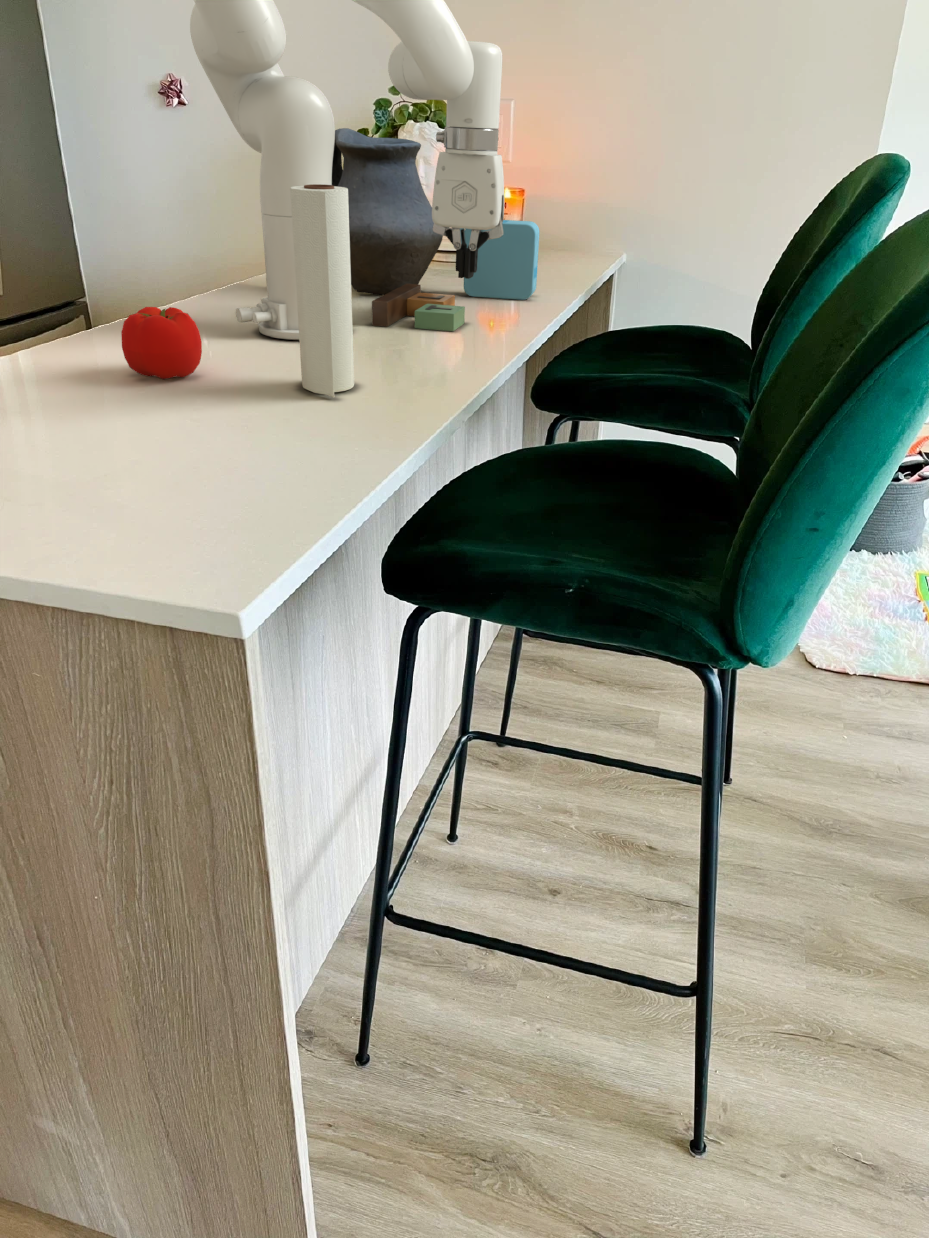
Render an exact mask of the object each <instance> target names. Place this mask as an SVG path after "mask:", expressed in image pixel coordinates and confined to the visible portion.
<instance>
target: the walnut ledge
mask: <svg viewBox="0 0 929 1238" xmlns="http://www.w3.org/2000/svg"><path fill="white" fill-rule="evenodd" d="M421 287H422V286H421V284H420V283H419V284H405V285H403V286H401V287H399V288H397V289H395V290H393V291H391V292H389V293H387V294H385V295H380V296H379V297H377V298H375V299H373V300H371V319H372V326H373V327H374V326H375V327H389V326H391V325H394V324H395V323H396V322H398V321H400V320H401V319H403V318H405V317H407V316H408V315H407V299H408V298H410V297H411V296H413V295H415V294H417V293H419V292H420V293H422V291H421V289H422V288H421Z"/></svg>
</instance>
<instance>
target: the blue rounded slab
mask: <svg viewBox="0 0 929 1238" xmlns="http://www.w3.org/2000/svg"><path fill="white" fill-rule="evenodd" d="M502 226H503V232H504V234H503V236H502V237H500V238H495V239H490V240H487V241H486V242H485V243H484V244H483V245H482V246H481V247H480V248H479V249H478V260H477V271H476V273H474V275H473V277H471V278H469V279H465V278H464V277H463V290H464V292H465V294H466V295H468V296H469V297H472V298H488V299H502V300H516V301H517V300H518V301H526V300H528V299H529V298H531V297H532V295H533V294H534V293H535V292H536V290H537V282H538V266H539V265H538V264H539V250H540V228H539V226H538V224H537V223H536V222H534V221H530V220H512V219H511V220H510V219H503V223H502ZM489 230H492V229H489ZM489 230H484V231H489ZM471 231H472V229H465V238H466V244H467V248H468V245H469V242H470V236H471Z"/></svg>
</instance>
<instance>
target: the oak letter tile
mask: <svg viewBox="0 0 929 1238" xmlns="http://www.w3.org/2000/svg"><path fill="white" fill-rule="evenodd" d="M426 304H439V305H451V306H456V295H455V294H443V293H431V292H430V293H429V292H421V293H420V292H419V293H417V294H415V295H413V296H411V297H410V298H408V299H407V315H406V316H409V317H415V310H417V309H419V308H420V307H422V306H424V305H426Z"/></svg>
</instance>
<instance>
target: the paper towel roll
mask: <svg viewBox="0 0 929 1238" xmlns="http://www.w3.org/2000/svg"><path fill="white" fill-rule="evenodd" d="M290 190H291V206H292V223H293V240H294V257H295V274H296V291H297V307H298V324H299V340H298V341H299V356H300V374H301V375H300V376H301V385H302V388H303V389H305V390H307V391H310V392H312V393H314V394H319V395H325V396H329V397H332V398H335V397H336V396H335V393H339V392H345V391H348V390H351V389H352V388H353V387H354V386H355V366H354V365H355V364H354V363H355V361H354V336H353V335H354V333H353V331H354V330H353V301H352V298H353V297H352V285H351V267H350V236H349V205H348V189H347V188H345V187H336V186H333V185H321V184H312V185H304V186H295V187H291V188H290Z"/></svg>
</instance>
